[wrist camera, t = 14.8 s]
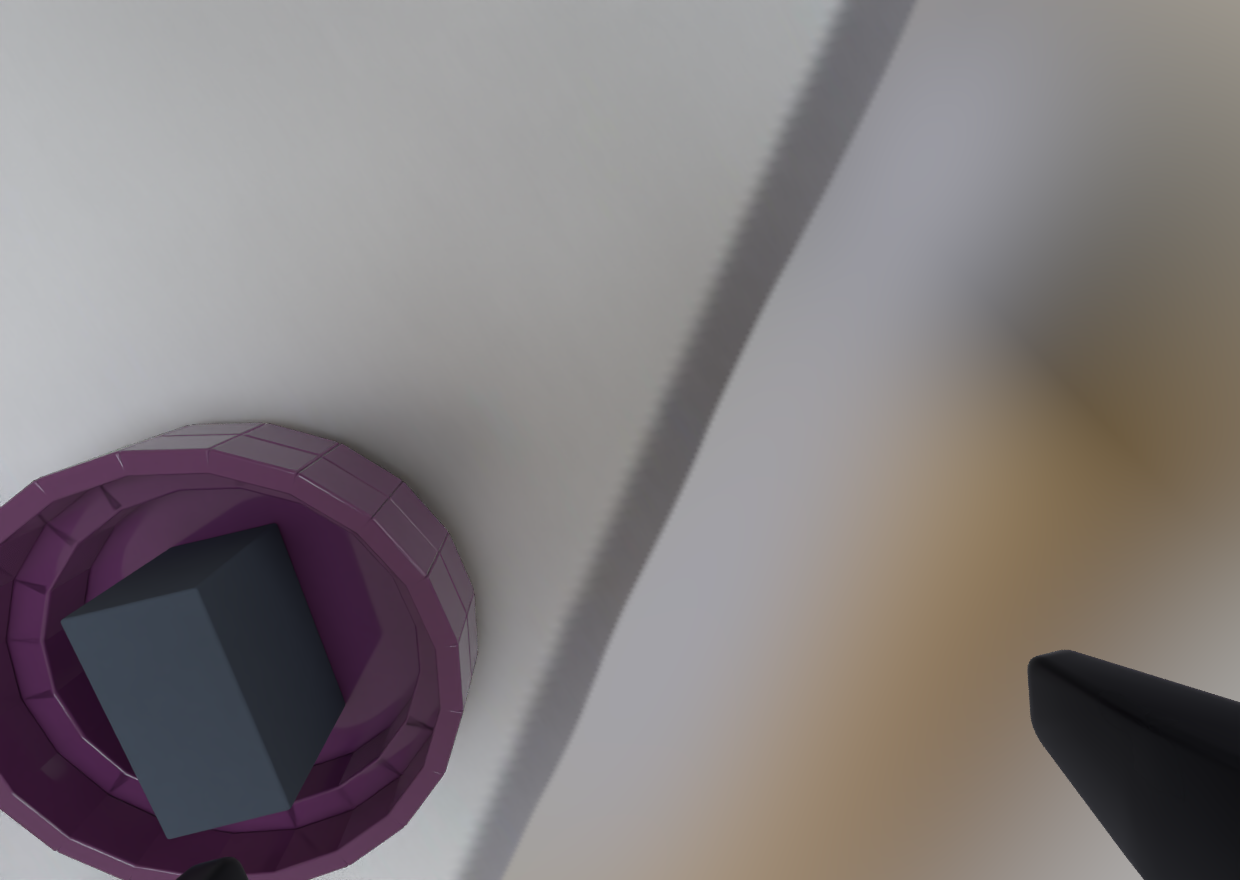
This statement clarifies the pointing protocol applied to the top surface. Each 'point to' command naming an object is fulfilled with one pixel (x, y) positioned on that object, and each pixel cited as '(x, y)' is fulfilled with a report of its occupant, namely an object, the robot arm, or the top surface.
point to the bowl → (339, 604)
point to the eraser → (211, 678)
